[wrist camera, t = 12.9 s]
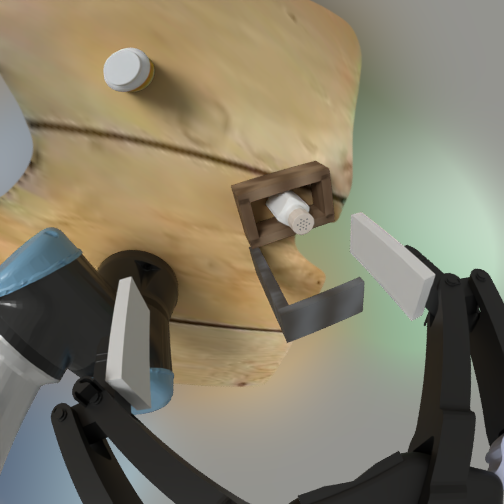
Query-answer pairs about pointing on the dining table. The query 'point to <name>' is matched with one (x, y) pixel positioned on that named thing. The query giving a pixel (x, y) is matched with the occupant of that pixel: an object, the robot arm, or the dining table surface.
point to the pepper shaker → (291, 211)
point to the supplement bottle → (128, 70)
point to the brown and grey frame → (258, 234)
